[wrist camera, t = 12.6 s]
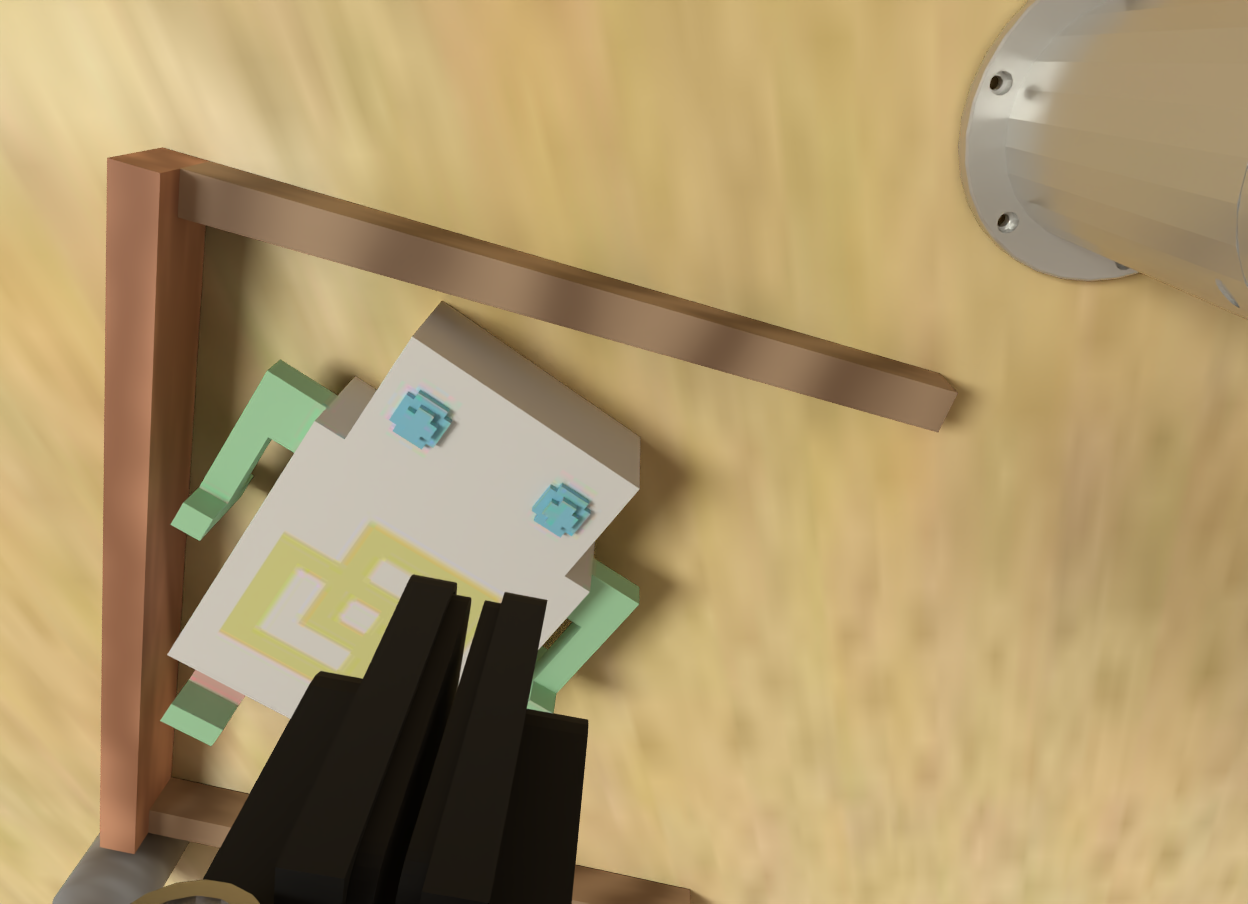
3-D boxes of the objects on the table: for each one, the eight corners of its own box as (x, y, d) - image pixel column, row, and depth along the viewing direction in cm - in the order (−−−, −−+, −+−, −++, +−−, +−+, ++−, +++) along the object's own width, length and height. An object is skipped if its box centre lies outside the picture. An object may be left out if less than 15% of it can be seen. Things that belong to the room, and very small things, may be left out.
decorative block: (309, 277, 31) (717, 548, 36) (362, 242, 37) (707, 480, 42) (70, 690, 41) (420, 863, 45) (142, 611, 46) (445, 771, 51)
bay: (939, 373, 39) (1006, 445, 32) (656, 957, 58) (658, 1085, 51) (126, 137, 35) (-8, 158, 28) (112, 844, 54) (30, 965, 47)
